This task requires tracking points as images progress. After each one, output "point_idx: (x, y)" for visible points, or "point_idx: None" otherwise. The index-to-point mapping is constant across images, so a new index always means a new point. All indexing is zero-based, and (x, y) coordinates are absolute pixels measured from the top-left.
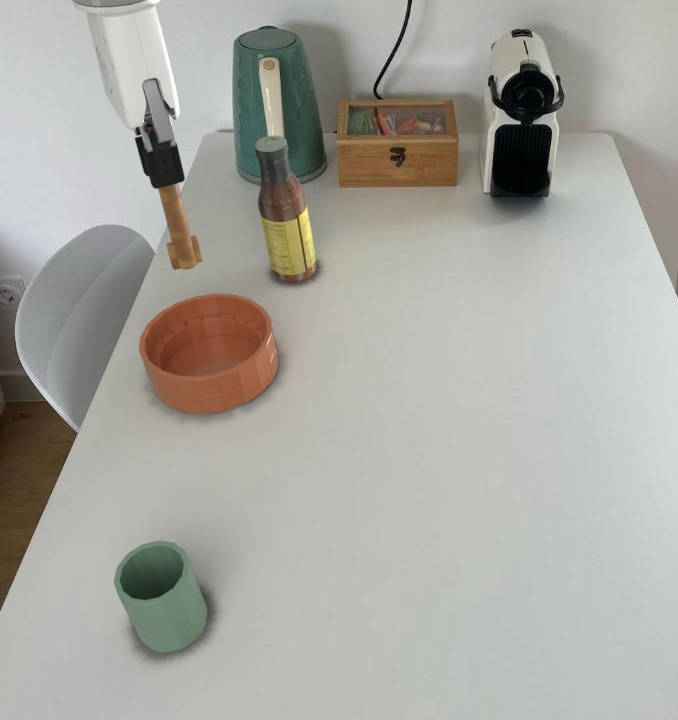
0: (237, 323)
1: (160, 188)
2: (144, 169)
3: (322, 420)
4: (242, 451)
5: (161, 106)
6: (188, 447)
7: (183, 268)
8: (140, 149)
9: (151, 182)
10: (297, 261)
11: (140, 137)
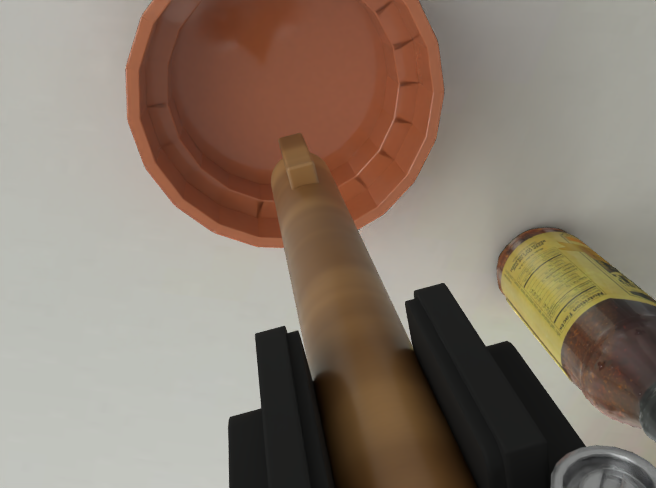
0: (370, 156)
1: (323, 324)
2: (426, 311)
3: (94, 263)
4: (31, 114)
5: None
6: (57, 3)
7: (274, 169)
8: (460, 412)
9: (258, 350)
10: (513, 295)
11: (529, 478)
